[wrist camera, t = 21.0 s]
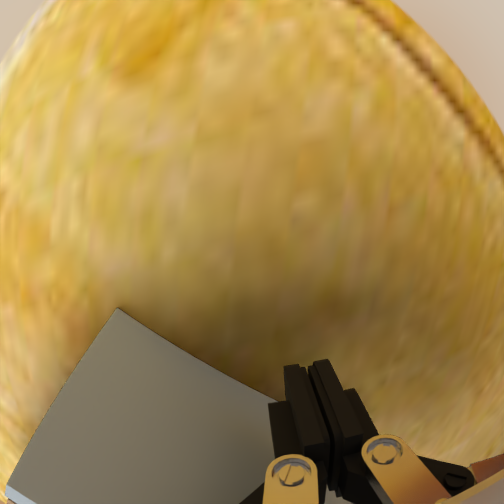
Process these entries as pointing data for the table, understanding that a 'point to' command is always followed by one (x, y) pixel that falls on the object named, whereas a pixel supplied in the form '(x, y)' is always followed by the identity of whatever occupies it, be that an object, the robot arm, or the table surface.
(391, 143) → the table surface
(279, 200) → the table surface
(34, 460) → the thin blue-gray plank
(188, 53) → the table surface
